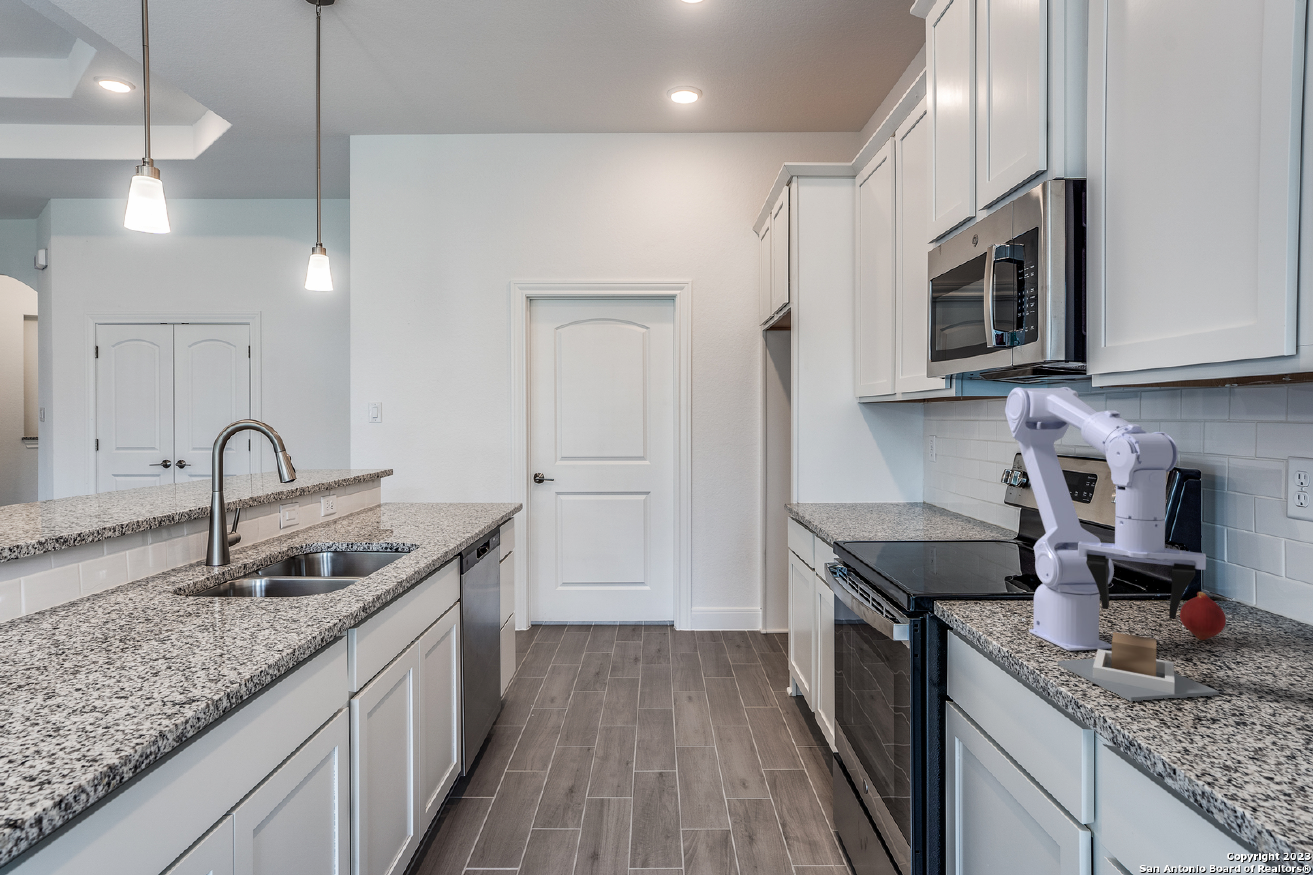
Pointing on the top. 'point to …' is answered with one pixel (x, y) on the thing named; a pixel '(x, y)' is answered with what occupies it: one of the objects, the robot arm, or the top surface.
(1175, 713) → the top surface
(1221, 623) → the onion
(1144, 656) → the block
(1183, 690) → the base plate
